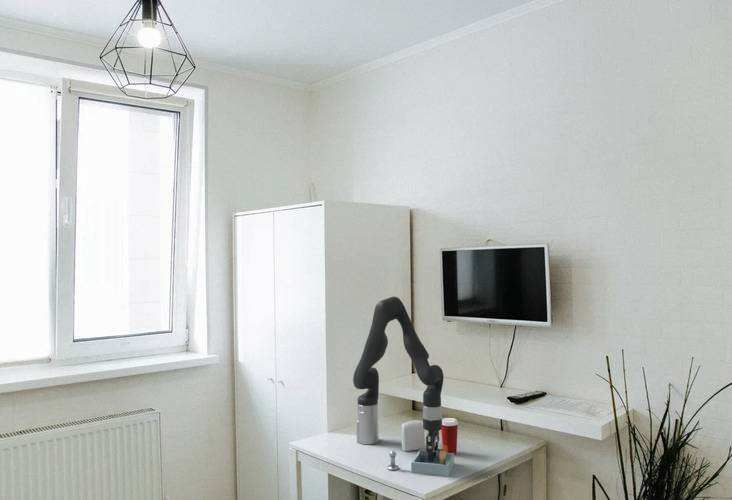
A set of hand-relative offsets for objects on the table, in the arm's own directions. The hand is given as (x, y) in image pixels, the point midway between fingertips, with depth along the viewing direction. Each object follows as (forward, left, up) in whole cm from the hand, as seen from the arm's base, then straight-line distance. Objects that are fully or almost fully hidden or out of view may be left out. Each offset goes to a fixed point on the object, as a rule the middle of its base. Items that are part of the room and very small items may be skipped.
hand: (433, 457), depth 228 cm
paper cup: (+3, +18, -4) cm, 19 cm away
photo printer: (-13, +19, -4) cm, 24 cm away
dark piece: (-1, 0, -3) cm, 3 cm away
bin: (0, 0, -4) cm, 4 cm away
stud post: (-15, -5, -4) cm, 16 cm away
